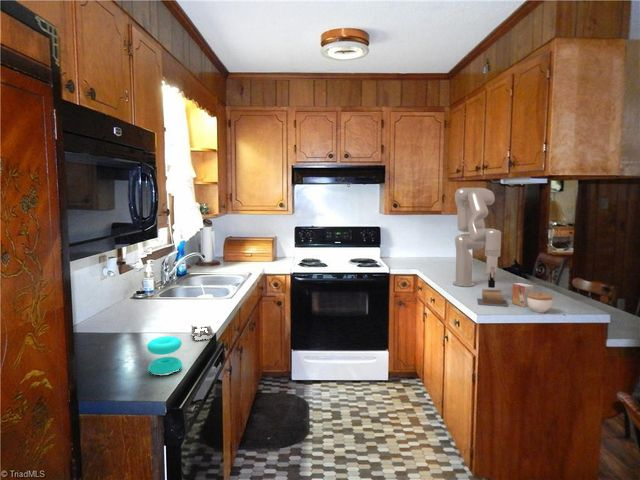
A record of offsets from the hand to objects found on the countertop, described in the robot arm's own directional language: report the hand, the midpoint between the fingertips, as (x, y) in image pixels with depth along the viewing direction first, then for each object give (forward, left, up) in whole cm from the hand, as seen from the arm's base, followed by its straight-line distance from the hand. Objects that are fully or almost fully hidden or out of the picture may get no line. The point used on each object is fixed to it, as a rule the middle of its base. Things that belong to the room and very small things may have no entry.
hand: (491, 287), depth 228 cm
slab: (+1, 0, -3) cm, 3 cm away
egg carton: (+102, -111, -7) cm, 151 cm away
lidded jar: (+20, +20, -7) cm, 29 cm away
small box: (+9, +14, -7) cm, 18 cm away
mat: (+9, 0, -6) cm, 11 cm away
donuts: (+134, -102, -7) cm, 169 cm away
